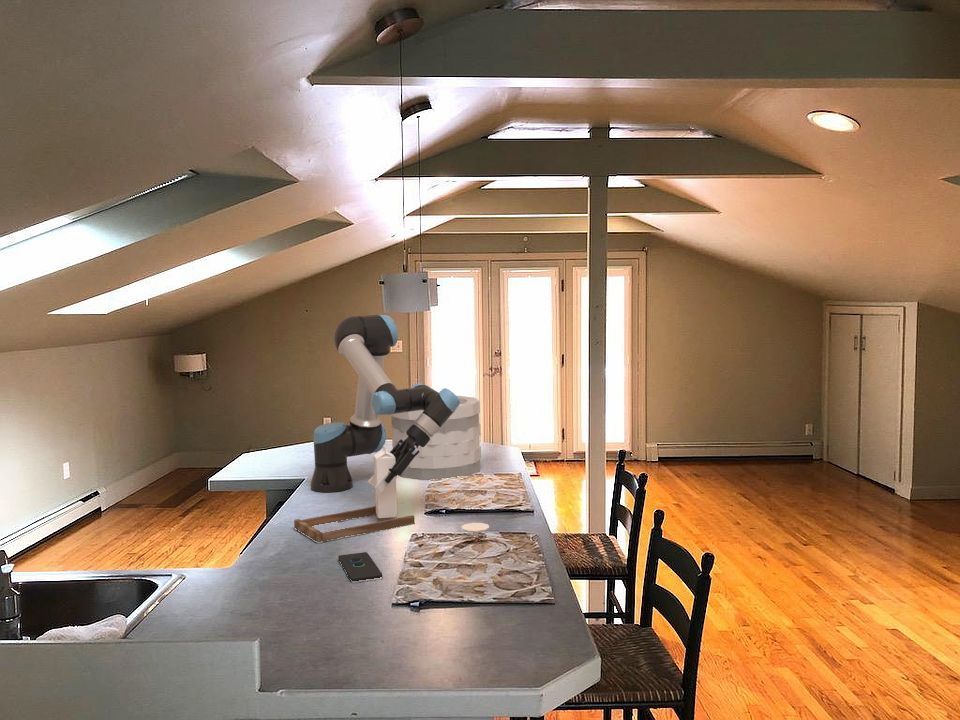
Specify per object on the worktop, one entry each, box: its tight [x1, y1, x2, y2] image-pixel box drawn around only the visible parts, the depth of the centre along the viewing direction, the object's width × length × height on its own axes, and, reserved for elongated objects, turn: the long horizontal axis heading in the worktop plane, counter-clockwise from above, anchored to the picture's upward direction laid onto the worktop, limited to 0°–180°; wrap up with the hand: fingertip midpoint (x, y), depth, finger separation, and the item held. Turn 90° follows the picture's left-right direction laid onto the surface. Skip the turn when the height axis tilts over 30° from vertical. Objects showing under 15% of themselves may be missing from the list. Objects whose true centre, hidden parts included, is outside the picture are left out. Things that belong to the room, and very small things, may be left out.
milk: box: [373, 444, 398, 519], centre depth 267 cm, size 6×6×22 cm
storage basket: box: [391, 395, 482, 481], centre depth 337 cm, size 35×35×27 cm
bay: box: [293, 505, 416, 542], centre depth 262 cm, size 18×32×3 cm, turn 124°
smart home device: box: [337, 551, 383, 581], centre depth 224 cm, size 8×2×20 cm
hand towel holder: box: [461, 522, 490, 537], centre depth 239 cm, size 17×4×21 cm
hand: (374, 487), depth 266 cm, fingers closed on milk, 7 cm apart
